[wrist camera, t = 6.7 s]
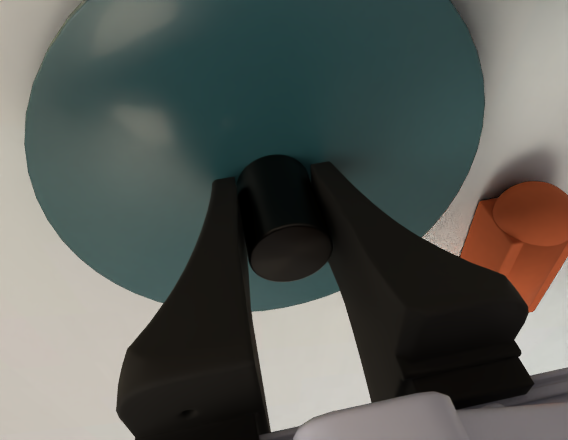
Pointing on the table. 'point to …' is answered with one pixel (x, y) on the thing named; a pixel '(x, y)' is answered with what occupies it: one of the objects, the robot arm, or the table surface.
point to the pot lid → (247, 129)
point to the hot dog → (521, 237)
